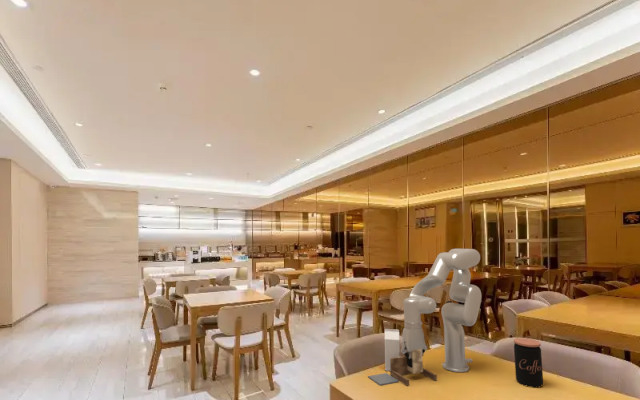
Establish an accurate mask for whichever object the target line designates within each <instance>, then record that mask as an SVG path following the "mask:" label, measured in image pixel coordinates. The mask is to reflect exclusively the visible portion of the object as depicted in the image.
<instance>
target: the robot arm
mask: <svg viewBox="0 0 640 400" xmlns="http://www.w3.org/2000/svg"><path fill="white" fill-rule="evenodd" d="M480 260H481V254H480V252H479V251H478V250H476V249H475V248H452V249H450V250H448V252H447V251H446V252H444V251H443V252H440V253H438V255H437V256H436V259H435V260H434V262H433V264H432V266H431V268H430V269H429V272H428V274H427V275H426V276H425V277H423V278H422V279H421V280H420V281H418V282H417V283H416V284H414V286H413V287H412V289H411V292H410V293H409V296H408V297H406V298H404V300H403V316H404V317H403V318H404V319H403V321H404V328H402V329H403V330H402V336H401V349H400V354H401V353H402V354H403V356H405V357H407V366H409V367H411V368H412V358H411V355H412V351H413V350H418V349H422V357H424V354H425V352H426V350H427V349H428V345H426V343H425V335H424V330H423V328H422V325H423V321H422V319H421V314H426V315H427V314H432V313H434V312H435V311H436V309H437V302H436V301H435V299H434V298H432V297H429V296H424V295H425V294H426V293H427V292H429V291H430V290H432V289H436V288H439V287H442V286H443V285H444V284H445V283H446V280H447V278H448V276H449V274H450V272H451V270H452V271H453V276H452V279H451V285H450V286H449V294H448V295H449V298H450V299H451V300H452V301H455V302H446V303H444V304H443V305H442V307H441V311H440V312H441V318H442V322H443V333H444V334H443V335H444V338H443V339H444V360H445V361H444V362H442V364H441V367H442V368H443V369H444V370H447V371H450V372H455V373H466V372H468V371H469V370H470V366H469V365H468V363H469V364H471V363H473V359H472V358H470V357H469V358H467V357H466V347H465V345H466V343H465V330H464V327H463V326H465V327H472V326H475V323H476V322H477V320H478V317H479V316H478V315H479V312H480V307H481V303H482V292H481V289H480V287H478V286H477V285H475V284H471V278H472V274H471V272H470V268H472V267H476V266H477V265H478V264H479V263H480ZM456 302H459V303H456ZM460 303H464V304H460ZM408 354H409V355H408Z"/></svg>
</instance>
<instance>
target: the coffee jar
mask: <svg viewBox="0 0 640 400" xmlns="http://www.w3.org/2000/svg"><path fill="white" fill-rule="evenodd" d="M513 343H514V344H513V352H514V353H513V354H514V368H515V369H514V370H515V380H516V381H517V383H519V384H520V385H522V384H523V385H522V386H524V385H527V386H526V387H528V386H533V387H532V388H540V387H539V386H541V385H542V386H543V384H544V377H543V376H544V373H543V361H542V360H543V359H542V349H541V347H542V346H541V342H539V341H537V340H536V339H535V340H534V339H532V338H523V337H522V338H519V337H517V338H514V339H513ZM542 386H541V387H542Z"/></svg>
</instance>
